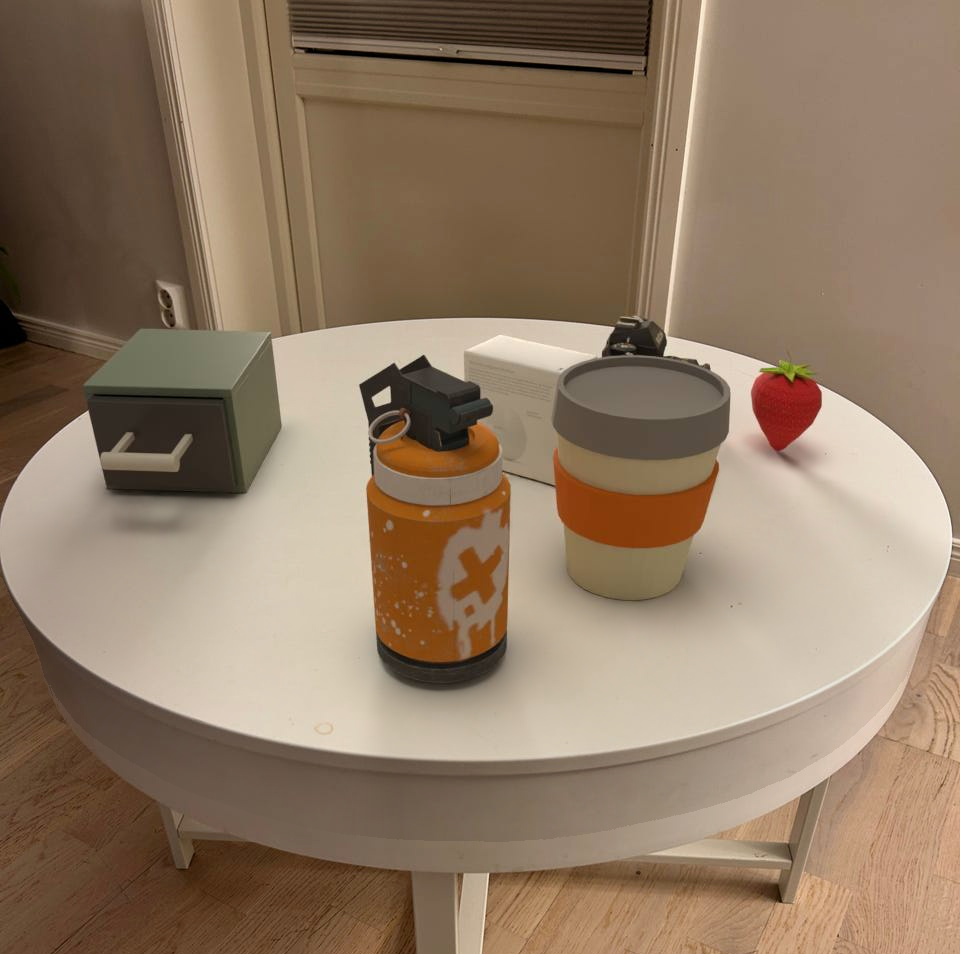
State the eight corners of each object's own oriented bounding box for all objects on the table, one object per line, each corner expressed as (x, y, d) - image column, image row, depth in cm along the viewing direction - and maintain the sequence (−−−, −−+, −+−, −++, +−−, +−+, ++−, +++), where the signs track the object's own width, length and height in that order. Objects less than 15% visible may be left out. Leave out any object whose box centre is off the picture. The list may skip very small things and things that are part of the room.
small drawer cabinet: (246, 493, 88) (230, 389, 83) (106, 488, 89) (81, 385, 83) (282, 426, 100) (270, 331, 94) (158, 422, 101) (140, 328, 95)
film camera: (723, 460, 94) (739, 357, 88) (592, 459, 94) (600, 356, 88) (689, 389, 109) (702, 296, 103) (576, 388, 109) (582, 296, 103)
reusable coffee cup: (676, 630, 71) (705, 435, 62) (517, 587, 76) (523, 399, 67) (724, 551, 80) (754, 371, 72) (579, 517, 85) (592, 343, 76)
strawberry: (771, 471, 92) (791, 366, 87) (728, 439, 98) (744, 338, 92) (825, 462, 94) (848, 358, 88) (780, 431, 100) (799, 332, 94)
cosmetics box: (591, 462, 94) (600, 352, 88) (557, 488, 89) (564, 374, 83) (498, 436, 98) (500, 330, 92) (461, 459, 94) (460, 350, 88)
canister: (429, 708, 64) (420, 414, 52) (335, 632, 71) (309, 357, 59) (533, 656, 69) (545, 375, 57) (435, 589, 76) (429, 326, 64)
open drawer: (216, 521, 82) (202, 433, 77) (81, 517, 83) (58, 429, 78) (269, 427, 98) (260, 348, 93) (155, 423, 98) (140, 345, 94)
